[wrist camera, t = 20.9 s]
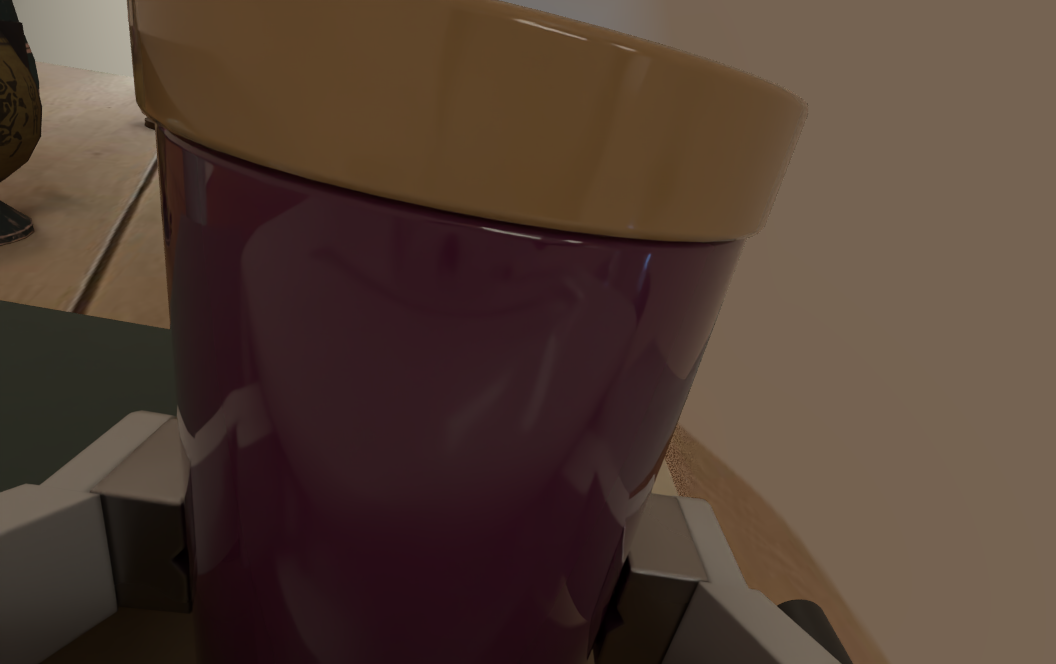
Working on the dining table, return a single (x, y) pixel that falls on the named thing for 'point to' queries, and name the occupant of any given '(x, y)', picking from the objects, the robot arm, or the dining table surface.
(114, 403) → the cabinet
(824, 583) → the dining table surface
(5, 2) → the teapot
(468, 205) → the canister
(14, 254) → the dining table surface
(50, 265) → the dining table surface
